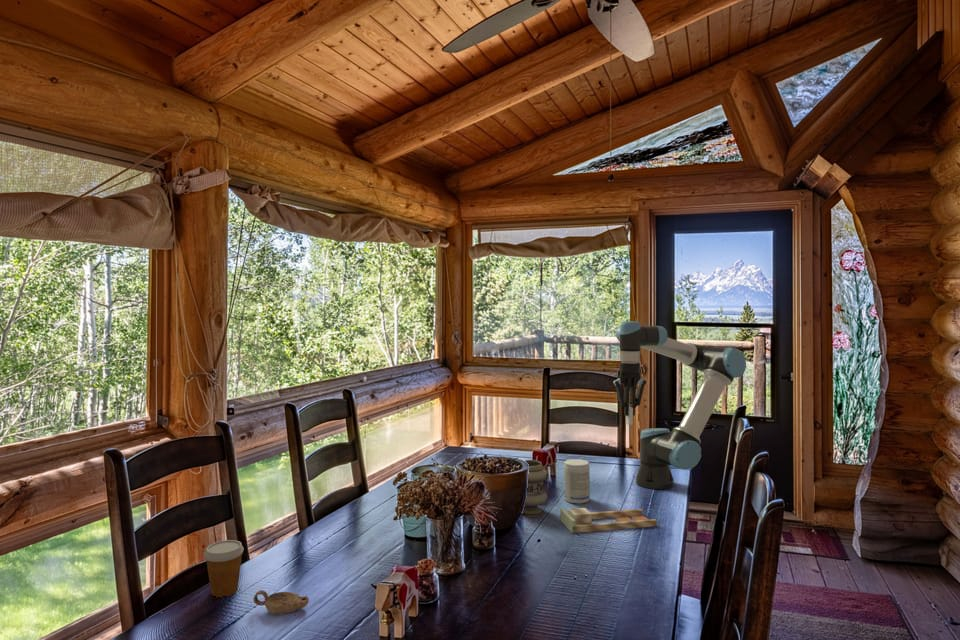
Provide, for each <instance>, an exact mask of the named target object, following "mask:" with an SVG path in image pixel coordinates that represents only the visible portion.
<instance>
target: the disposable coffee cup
mask: <svg viewBox="0 0 960 640" xmlns="http://www.w3.org/2000/svg"><path fill="white" fill-rule="evenodd" d="M243 553H244V546H243V544H242V542H241V541H239V540H234V539H227V540H220V541H219V540H218V541H216V542H213V543H211V544H210V545H208V546H207V547H206V548H205V551H204V553H203V556H204V559H205V560H206V565H207V572H208V573H207V574H208V579H209V580H208V581H209V586H210V592H211V596H212V595H213V596H216V597H215V598H218V597H221V598H223V597H222V596H227V597H230V596H233V595H235V594H236V593H237V592H238V590H239V580H240V573H241V572H240V571H241V566H242V565H241V562H242V556H243ZM236 591H237V592H236ZM235 592H236V593H235ZM232 594H233V595H232ZM229 595H230V596H229ZM213 596H212V597H213Z"/></svg>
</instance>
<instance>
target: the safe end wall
mask: <svg viewBox="0 0 960 640" xmlns="http://www.w3.org/2000/svg"><path fill="white" fill-rule="evenodd" d="M559 511H560V519H559V521H560V522H561V523H562V524H563V525H564V526H565V527H566V528H567V529H568V530H569V532H571V534H574V533H575V532H574V533H572V531H573V530H574V531H575V528H574V529H573V527H575V520H574V519H573V518H572V517H571V516H570V515H569V514H568V511H566V510H565V508H560V510H559Z"/></svg>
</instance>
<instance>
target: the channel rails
mask: <svg viewBox="0 0 960 640" xmlns="http://www.w3.org/2000/svg"><path fill="white" fill-rule="evenodd" d="M590 513H591V514H592V520H603V519H615V518H614V517H625V516H627V517H629V518H631V517H630V516H638V515H643V516H644V510H643V509H642V508H637V509H623V510H622V509H621V510H609V511H595V512H590ZM657 526H658V520H657V519H656V518H651V519H649V520H636V521H635V520H632V521H623V522H618V521H614V522H613V521H612V522H601V523H591V524H584V525H575V527H573V529H574V528H575V531H574V530H573V531H572V533H571V534H574V532H575V533H577V534H578V533H587V532H590V533H591V532H600V531H611V530H612V531H613V530H624V529H637V528H648V527H649V528H651V527H657Z"/></svg>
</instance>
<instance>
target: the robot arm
mask: <svg viewBox="0 0 960 640" xmlns="http://www.w3.org/2000/svg"><path fill="white" fill-rule="evenodd" d="M615 337H616V339H617V341H618V342H619V361H620V363H619V375H618V378H617V379H615V380H613V381H612V383H613V385H614V388H615V391H616V397H617V400H618V404H619V406H622V407H623V415H624V416H625V424H626V425H628V426H633V425H634V417H635V415H636V408H637V407H638V406H640V405H641V402H642V396H643V393H644V389H645V386H646V384H647V380H645V379H643V378H642V376H641V374H640V373H641V363H640V362H641V348H642V349H643V350H644V349H645V350H647V351H651V352H653V353H656V354H659V355H662V356H664V357H668V358H671V359H674V360H678V361H680V363H681V364H683V365H684V366H687V367H690V368H691V369H692V368H693V369H694V370H697V371H699V372H701V373H703V374H704V377H703V378H702V382H701V383H700V386H699V387H698V389H697V391H696V393H695V394H694V396H693V398H692V400H691V403H690V404H689V406H688V408H687V410H686V412H685V413H684V416H683V418H682V419H681V422H680V423H679V425H678V426H675V427H673V428H672V430H671V431H670V429H669V428H666V427H665V428H661V427H657V428H655V427H652V428H645V429H644V428H643V429H642V430H641V431H640V438H639V440H640V442H639V443H640V445H639V446H640V447H639V449H640V451H639V453H640V459H639V461H640V462H639V463H640V464H639V467H638V470H637V473H636V476H635V484H636V485H638V486H640V487H642V488H646V489H652V490H665V489H666V490H667V489H671V488H673V487H674V484H675V481H674V477H673V473H672V471H671V467H674V468H675V469H678V470H679V469H680V470H683V471H684V470H687V471H688V470H691V469H693V468H694V467H696V466H697V465H698V464H699V462H700V460H701V458H702V453H701V452H702V447H701V446H700V445H701V443H702V442H701V438H700V436H701V434H702V433H703V431H704V428H705V427H706V425H707V422H708V421H709V419H710V417H711V416H712V414H713V411H714V409H715V407H716V405H717V403H718V401H719V400H720V398H721V396H722V394H723V392H724V390H725V388H726V387H727V386H730V385H732V383H733V381H734V380H735V379H736V378H740V377H742V376H743V375H744V374H745V371H746V368H747V361H746V357H745V355H744V353H743V352H742V351H741V350H740V349H738V348H735V347H731V346H728V347H724V346H716V345H715V346H714V345H700V344H694V343H691V342H688V343H684V342H682V341H679V340H677V339H673V338H670V337H668V331H667V329H666V328H665V327H664V326H661V325H641V322H640V321H637V320H635V321H634V320H633V321H632V320H631V321H630V320H628V321H625V320H624V321H621V322H620V325H619V326H618V327H617V330H616V332H615ZM621 384H622V386H621ZM637 385H638V386H637ZM622 388H623V391H622ZM670 466H671V467H670Z"/></svg>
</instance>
